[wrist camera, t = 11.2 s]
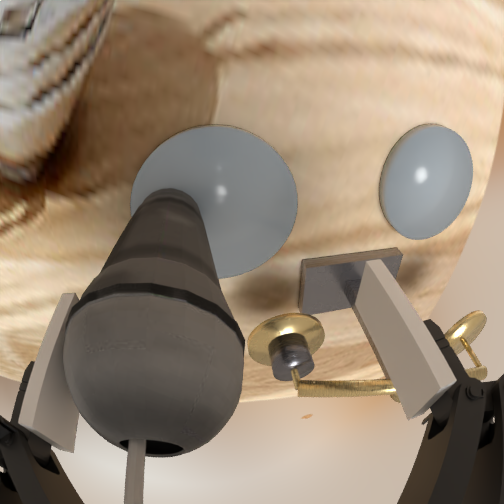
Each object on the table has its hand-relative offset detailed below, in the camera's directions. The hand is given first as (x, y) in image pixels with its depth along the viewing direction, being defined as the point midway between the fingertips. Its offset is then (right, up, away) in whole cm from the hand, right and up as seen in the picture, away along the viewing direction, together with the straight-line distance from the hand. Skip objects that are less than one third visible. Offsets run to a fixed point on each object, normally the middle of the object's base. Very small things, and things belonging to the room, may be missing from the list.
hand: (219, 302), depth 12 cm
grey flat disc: (-1, +6, +9) cm, 11 cm away
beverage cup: (-4, +5, +8) cm, 10 cm away
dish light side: (+17, +9, +10) cm, 22 cm away
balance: (+11, 0, +15) cm, 18 cm away
